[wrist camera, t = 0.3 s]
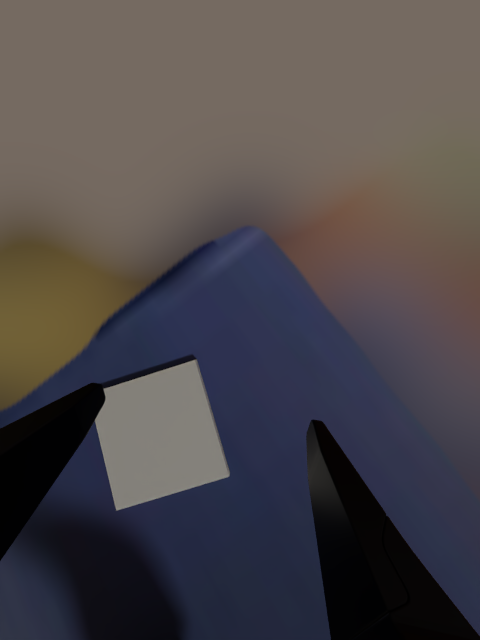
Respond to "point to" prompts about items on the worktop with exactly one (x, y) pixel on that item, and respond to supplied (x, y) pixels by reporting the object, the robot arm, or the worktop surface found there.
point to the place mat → (159, 436)
